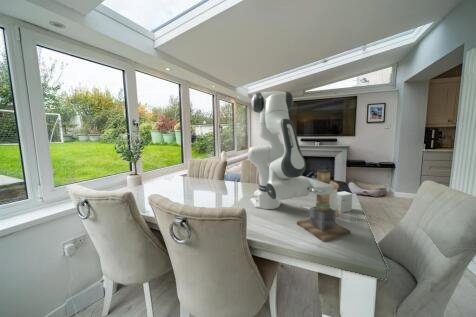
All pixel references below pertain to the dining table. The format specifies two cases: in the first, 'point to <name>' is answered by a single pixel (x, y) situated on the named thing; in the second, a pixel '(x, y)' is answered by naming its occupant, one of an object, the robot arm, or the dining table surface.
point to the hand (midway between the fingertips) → (324, 182)
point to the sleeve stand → (323, 225)
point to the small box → (344, 201)
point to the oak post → (323, 200)
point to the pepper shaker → (334, 198)
